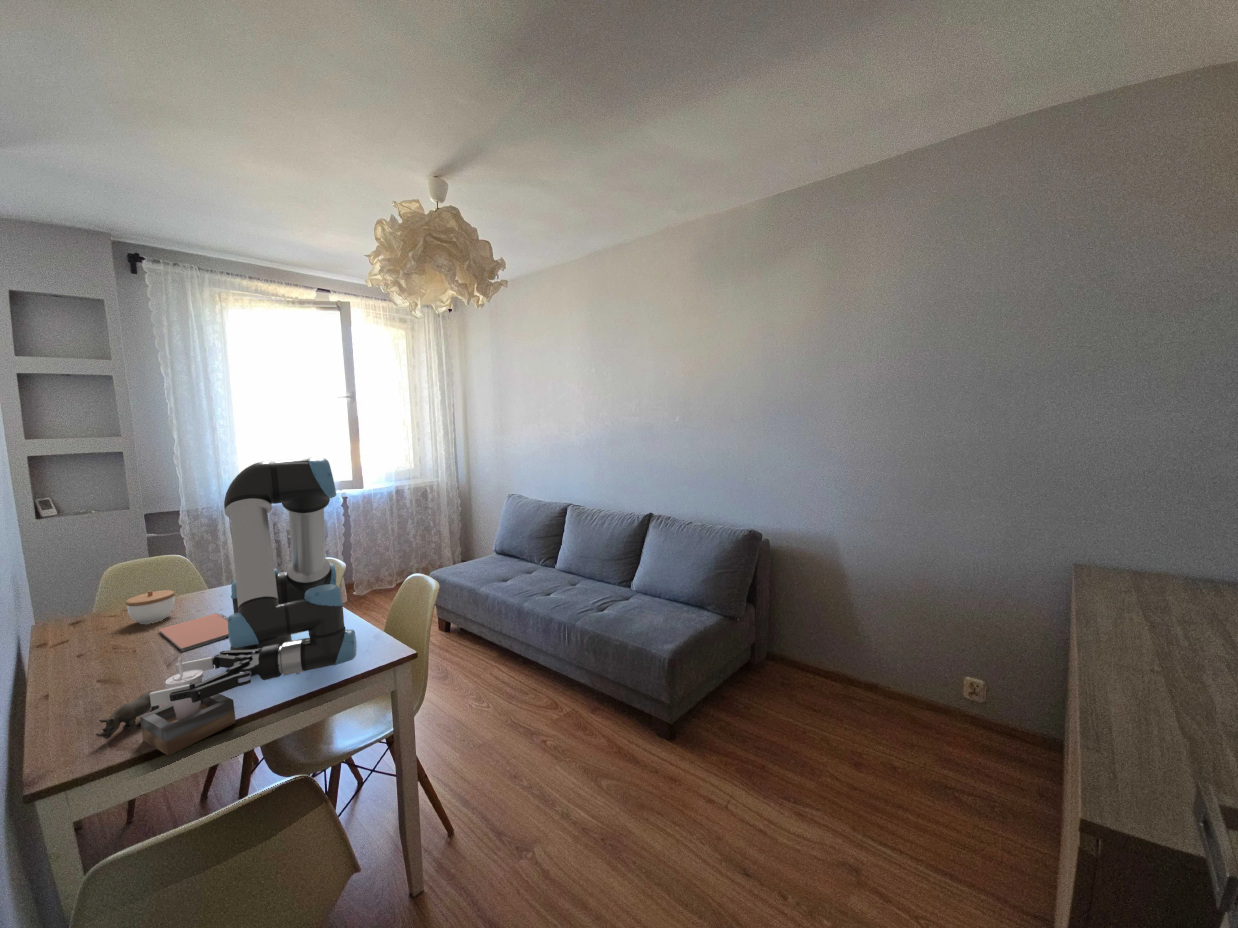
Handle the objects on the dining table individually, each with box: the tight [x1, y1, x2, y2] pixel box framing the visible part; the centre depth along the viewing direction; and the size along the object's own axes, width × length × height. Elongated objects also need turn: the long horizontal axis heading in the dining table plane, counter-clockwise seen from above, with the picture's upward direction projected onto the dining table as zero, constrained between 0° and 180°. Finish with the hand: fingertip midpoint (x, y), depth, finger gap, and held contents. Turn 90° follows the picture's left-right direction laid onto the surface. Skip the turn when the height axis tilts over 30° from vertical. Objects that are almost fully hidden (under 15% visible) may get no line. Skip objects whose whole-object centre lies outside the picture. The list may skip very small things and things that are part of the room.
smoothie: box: [164, 656, 205, 721], centre depth 106 cm, size 6×6×14 cm
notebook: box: [158, 612, 229, 652], centre depth 162 cm, size 27×17×2 cm, turn 55°
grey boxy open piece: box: [139, 693, 237, 757], centre depth 107 cm, size 12×12×6 cm
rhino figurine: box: [95, 690, 160, 740], centre depth 109 cm, size 4×14×6 cm, turn 177°
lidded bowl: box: [125, 589, 176, 625], centre depth 174 cm, size 13×13×11 cm
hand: (164, 683), depth 105 cm, fingers open, 13 cm apart
